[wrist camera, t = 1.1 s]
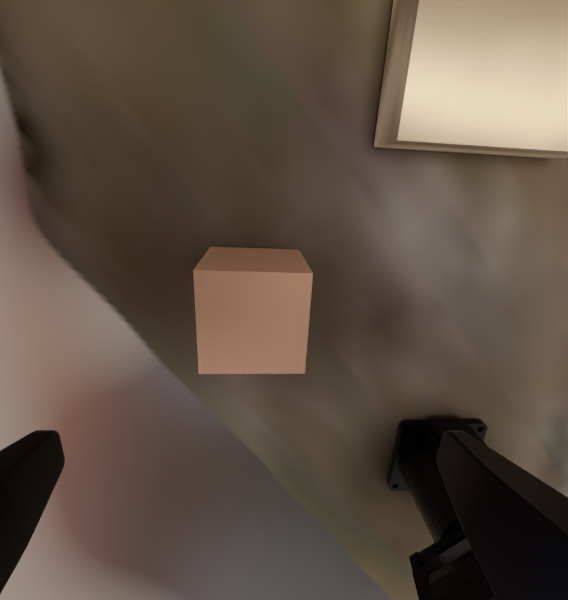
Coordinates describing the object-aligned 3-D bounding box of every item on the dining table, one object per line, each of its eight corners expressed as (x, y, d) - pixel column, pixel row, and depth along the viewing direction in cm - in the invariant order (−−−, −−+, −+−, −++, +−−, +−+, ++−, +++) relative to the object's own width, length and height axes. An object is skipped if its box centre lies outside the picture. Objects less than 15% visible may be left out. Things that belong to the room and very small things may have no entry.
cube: (294, 328, 20) (305, 373, 15) (213, 327, 19) (198, 373, 15) (299, 249, 18) (313, 273, 14) (210, 246, 18) (193, 270, 13)
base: (552, 158, 17) (609, 154, 14) (373, 146, 16) (397, 140, 14) (632, -94, 14) (727, -164, 11) (410, -125, 13) (451, -209, 10)
